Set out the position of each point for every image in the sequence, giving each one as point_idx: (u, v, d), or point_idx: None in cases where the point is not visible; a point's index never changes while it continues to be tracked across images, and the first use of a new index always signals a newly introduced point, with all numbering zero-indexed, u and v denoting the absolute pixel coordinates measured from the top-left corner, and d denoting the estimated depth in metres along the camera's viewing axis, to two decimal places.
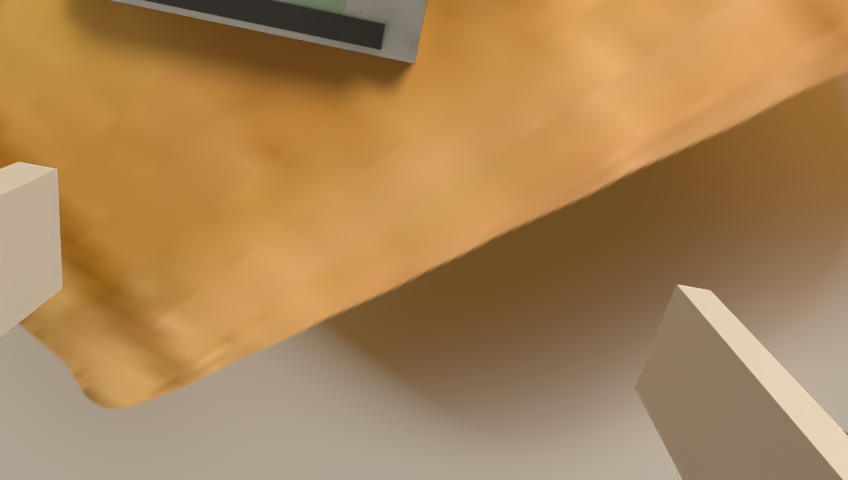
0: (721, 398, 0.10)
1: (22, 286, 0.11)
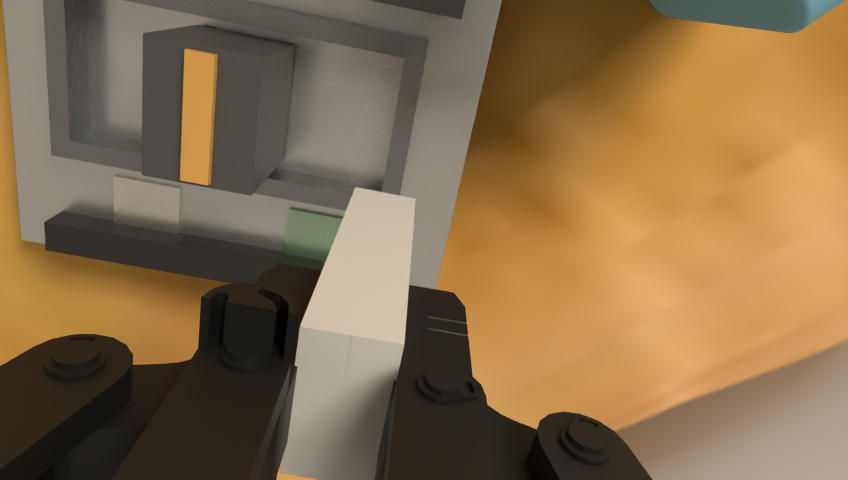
0: None
1: None
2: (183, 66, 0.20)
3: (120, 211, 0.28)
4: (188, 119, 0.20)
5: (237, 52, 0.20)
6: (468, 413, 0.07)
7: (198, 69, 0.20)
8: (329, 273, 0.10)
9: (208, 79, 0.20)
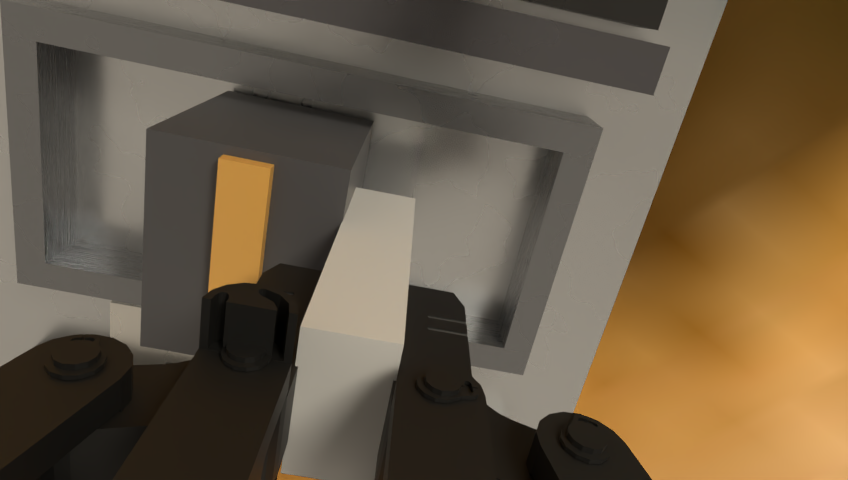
0: None
1: None
2: (214, 183, 0.12)
3: None
4: (220, 267, 0.12)
5: (307, 161, 0.12)
6: (468, 413, 0.07)
7: (241, 190, 0.12)
8: (329, 273, 0.10)
9: (257, 206, 0.12)
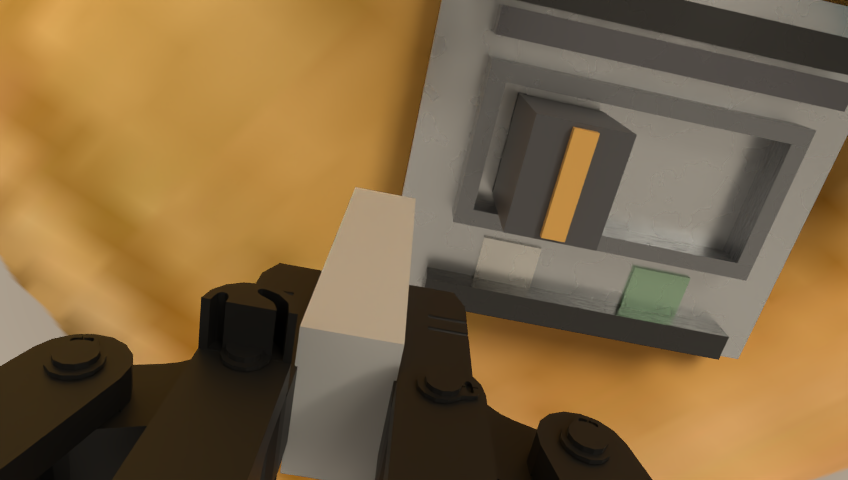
0: None
1: None
2: (564, 141, 0.23)
3: (482, 268, 0.31)
4: (562, 186, 0.23)
5: (615, 130, 0.23)
6: (468, 413, 0.07)
7: (582, 145, 0.23)
8: (329, 273, 0.10)
9: (588, 153, 0.23)
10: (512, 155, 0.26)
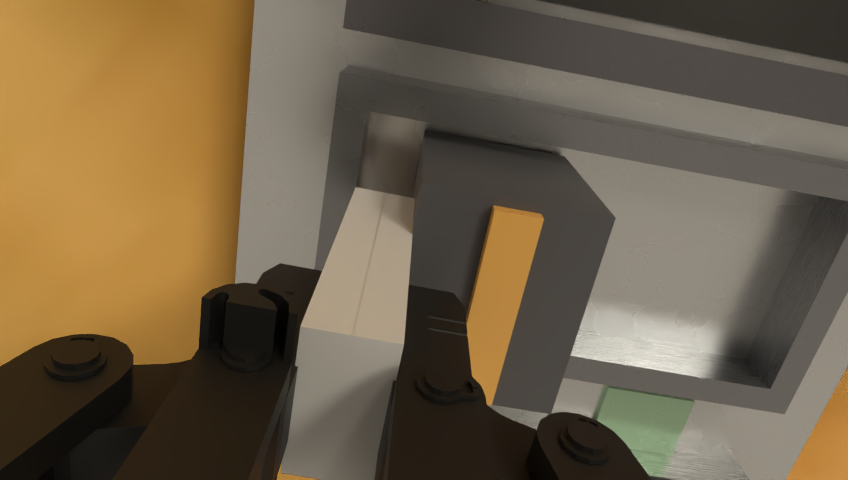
0: None
1: None
2: (480, 232, 0.12)
3: None
4: (479, 312, 0.13)
5: (573, 210, 0.12)
6: (468, 413, 0.07)
7: (512, 240, 0.12)
8: (329, 273, 0.10)
9: (525, 255, 0.12)
10: None
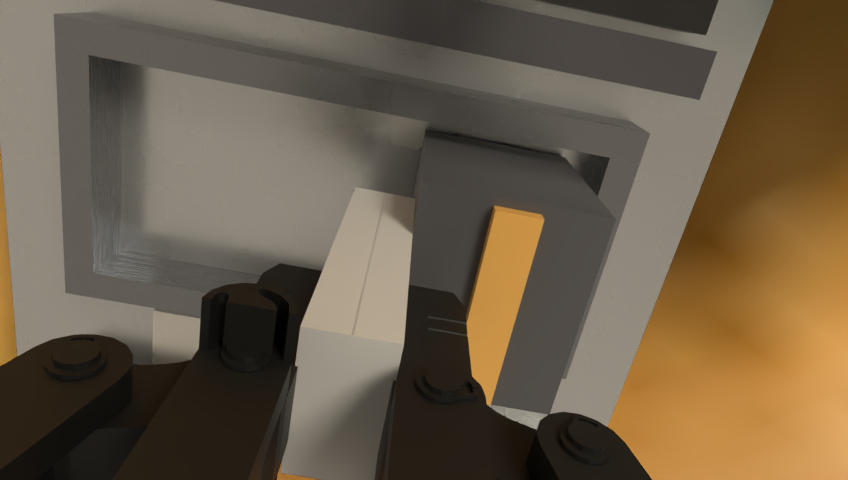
0: None
1: None
2: (480, 232, 0.12)
3: (161, 356, 0.19)
4: (479, 312, 0.13)
5: (574, 211, 0.12)
6: (468, 413, 0.07)
7: (512, 240, 0.12)
8: (329, 273, 0.10)
9: (525, 255, 0.12)
10: None
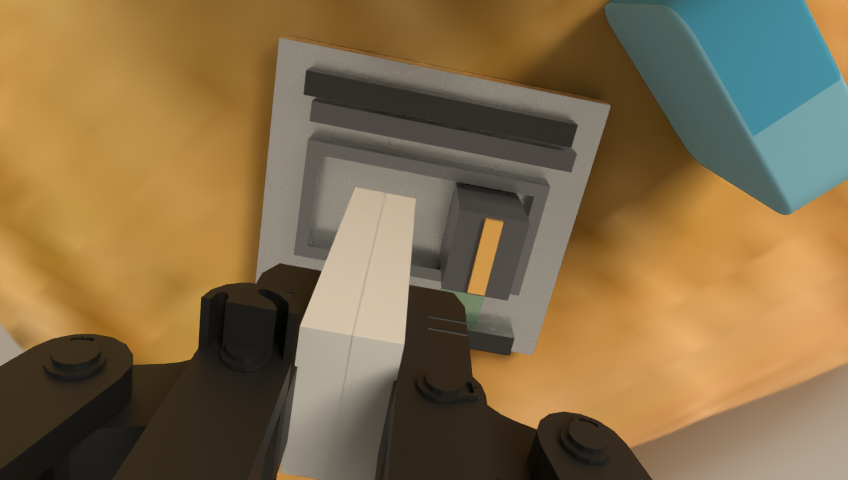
0: None
1: None
2: (480, 227, 0.33)
3: None
4: (479, 258, 0.33)
5: (514, 220, 0.33)
6: (468, 413, 0.07)
7: (492, 230, 0.33)
8: (329, 273, 0.10)
9: (496, 236, 0.33)
10: (449, 231, 0.36)
